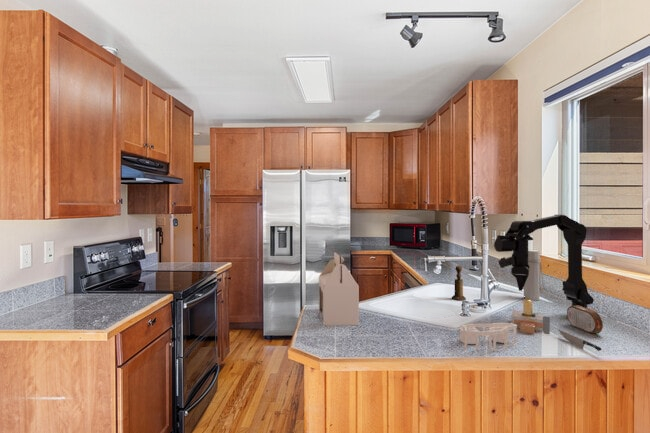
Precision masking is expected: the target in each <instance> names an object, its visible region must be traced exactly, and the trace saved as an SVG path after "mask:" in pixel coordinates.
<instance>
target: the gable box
mask: <svg viewBox="0 0 650 433" xmlns="http://www.w3.org/2000/svg"><path fill="white" fill-rule="evenodd" d="M333 255H334V256H333V257H332V258H331V259H330V260H329V261H328V263H326V265H325V267H324V268H323V270H322V272H321V273H320V275H319V276H318V311H319V314H320V317H321V321H322V323H323V326H359V325H360V324H359V322H360V321H359V320H360V312H359V311H360V306H359V305H360V302H359V301H360V298H359V297H360V294H359V293H360V292H359V291H360V289H359V288H360V286H359V284H358V283H357V281H356V279H355V278H354V277H353V275H352V274H351V272H350V270H349V269H348V267H347V266H346V265H345V264H344V263H345V260H346V259H345V258H344V257H343V256H342V255H340V254H339V253H338V252H336V251H335V252H334V253H333ZM321 310H322V312H321Z"/></svg>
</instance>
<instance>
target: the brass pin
mask: <svg viewBox="0 0 650 433" xmlns="http://www.w3.org/2000/svg"><path fill="white" fill-rule="evenodd" d="M522 304H523V307H522V308H523V311H524V316H530V317H533V315H532V313H533V301H532V300H528V299H524V298H523V303H522Z"/></svg>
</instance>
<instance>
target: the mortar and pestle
mask: <svg viewBox="0 0 650 433" xmlns="http://www.w3.org/2000/svg"><path fill="white" fill-rule="evenodd" d="M462 270H463V267H462V266H461V265H456V266H455V271H456V273H457V274H456V275H455V276H456V278H455V279H454V294H453V296H451V300H454V301H459V302H462V301H463V302H465V301H467V298H466V297H465V296H464V280H463V279H462V274H461V272H462Z"/></svg>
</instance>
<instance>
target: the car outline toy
mask: <svg viewBox="0 0 650 433" xmlns="http://www.w3.org/2000/svg"><path fill="white" fill-rule="evenodd" d="M478 328H482V331H480V330H479V329H478ZM486 328H488V330H486ZM517 329H518V327H517V325H516V324H512V323H511V322H493V323H469V324H462V325H461V327H459V341H460V343H463V344H464V345H463V346H464V350H468V345H475V351H476V352H479V350H480V348H479V347H480V346H479V345H480V343H479V342H480V341H479V338H480V336H482V343H486V336H488V348H491V349H492V348H493V349H492V350H493V352H497V351H498V349H497V348H500V349H499V351H503V349H507V348H508V347H509V346H516V345H517ZM510 330H513V341H510ZM492 342H493V343H492ZM497 343H500V344H501V343H502V344H504V345H501V346H497ZM508 343H510V344H508Z"/></svg>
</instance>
